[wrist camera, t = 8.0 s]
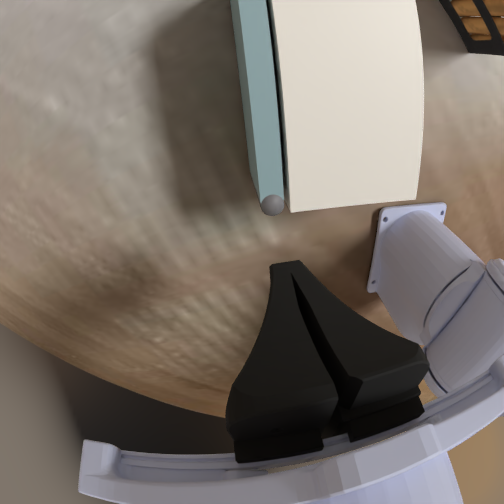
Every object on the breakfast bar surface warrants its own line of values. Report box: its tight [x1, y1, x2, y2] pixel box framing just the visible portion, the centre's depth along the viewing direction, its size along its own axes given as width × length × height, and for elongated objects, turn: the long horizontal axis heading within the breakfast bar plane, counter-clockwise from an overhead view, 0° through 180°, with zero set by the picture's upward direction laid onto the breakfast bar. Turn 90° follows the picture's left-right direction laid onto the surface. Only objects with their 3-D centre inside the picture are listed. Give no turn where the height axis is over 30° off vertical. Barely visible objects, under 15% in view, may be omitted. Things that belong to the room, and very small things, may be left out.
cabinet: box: [266, 0, 424, 213], centre depth 13 cm, size 15×8×6 cm, turn 6°
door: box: [230, 0, 284, 216], centre depth 13 cm, size 14×2×6 cm, turn 6°
